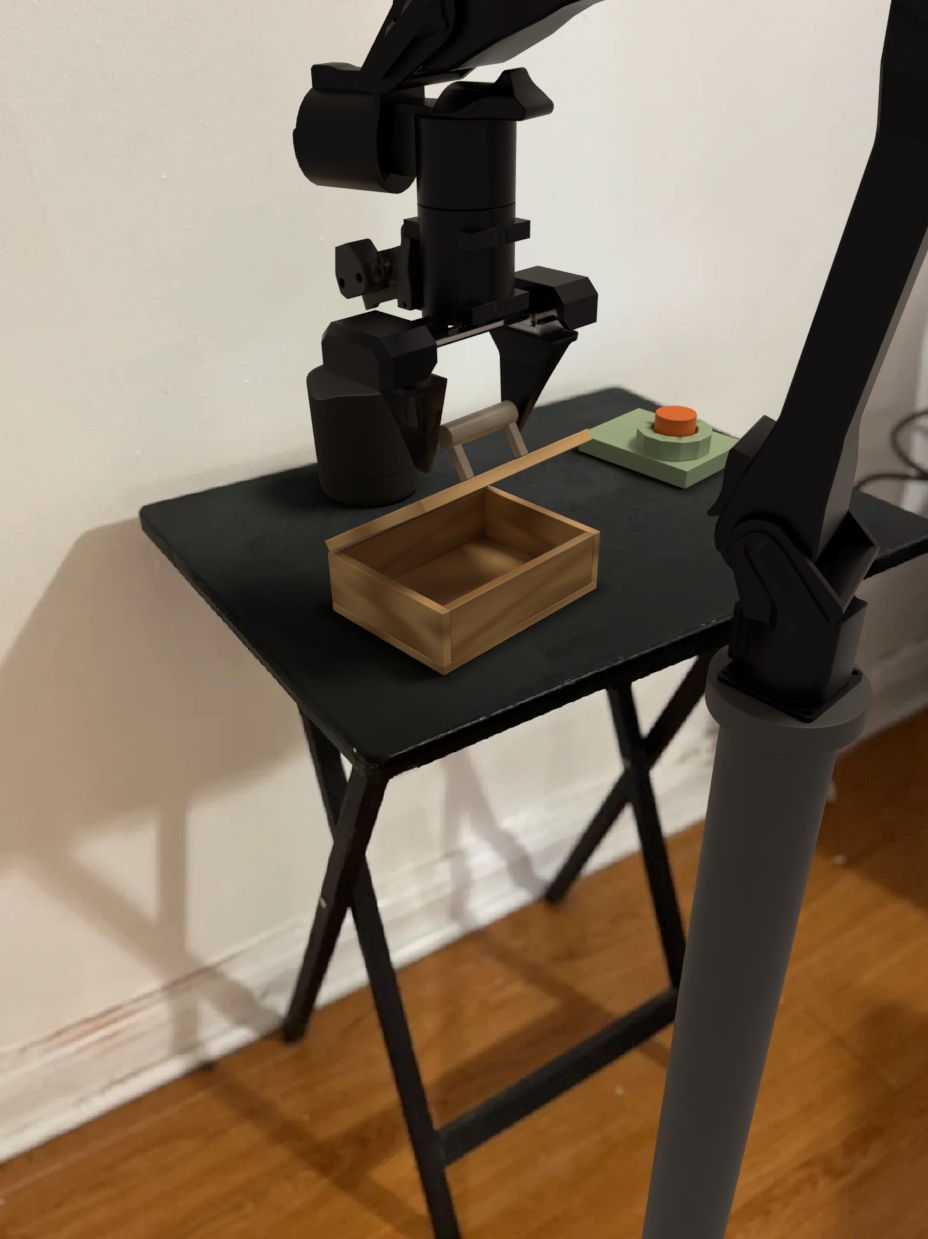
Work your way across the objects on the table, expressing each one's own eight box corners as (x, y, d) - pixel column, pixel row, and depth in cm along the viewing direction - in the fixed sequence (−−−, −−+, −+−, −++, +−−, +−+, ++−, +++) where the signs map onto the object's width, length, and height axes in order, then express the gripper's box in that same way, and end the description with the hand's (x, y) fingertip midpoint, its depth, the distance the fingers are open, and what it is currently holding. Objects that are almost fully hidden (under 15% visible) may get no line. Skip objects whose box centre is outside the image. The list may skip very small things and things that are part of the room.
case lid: (592, 439, 71) (566, 375, 70) (425, 512, 62) (394, 440, 61) (487, 482, 80) (463, 426, 80) (329, 551, 71) (301, 489, 71)
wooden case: (596, 588, 76) (600, 531, 74) (443, 676, 67) (442, 614, 64) (485, 537, 83) (485, 483, 80) (332, 610, 74) (327, 552, 71)
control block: (742, 458, 95) (748, 422, 93) (685, 489, 90) (689, 451, 88) (637, 424, 103) (640, 390, 101) (578, 450, 97) (579, 415, 95)
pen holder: (429, 464, 95) (425, 357, 89) (418, 511, 87) (414, 396, 82) (327, 463, 95) (317, 356, 90) (307, 509, 88) (295, 395, 82)
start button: (703, 431, 93) (705, 412, 92) (679, 442, 91) (681, 423, 90) (669, 420, 95) (671, 402, 94) (645, 431, 93) (647, 412, 92)
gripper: (480, 165, 71) (481, 387, 79) (251, 207, 60) (280, 459, 68) (610, 185, 64) (595, 426, 72) (378, 236, 53) (393, 513, 61)
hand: (468, 452), depth 69 cm, fingers open, 8 cm apart
